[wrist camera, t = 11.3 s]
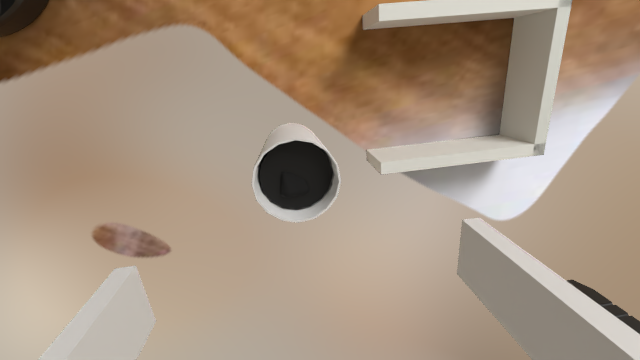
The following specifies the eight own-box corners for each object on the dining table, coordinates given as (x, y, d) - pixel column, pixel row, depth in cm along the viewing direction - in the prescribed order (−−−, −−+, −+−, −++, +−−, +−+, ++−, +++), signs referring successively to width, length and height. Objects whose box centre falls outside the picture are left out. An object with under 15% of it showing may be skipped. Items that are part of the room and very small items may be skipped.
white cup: (323, 178, 33) (340, 219, 24) (262, 181, 32) (255, 225, 23) (323, 117, 31) (341, 136, 21) (257, 119, 30) (247, 140, 21)
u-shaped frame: (362, 15, 28) (378, 4, 23) (527, 3, 29) (574, -10, 25) (366, 160, 33) (381, 174, 28) (507, 143, 34) (543, 154, 30)
